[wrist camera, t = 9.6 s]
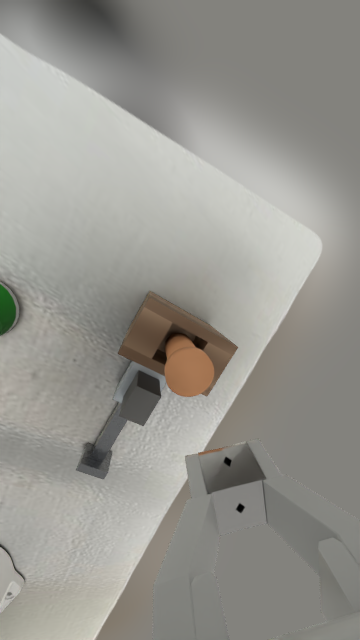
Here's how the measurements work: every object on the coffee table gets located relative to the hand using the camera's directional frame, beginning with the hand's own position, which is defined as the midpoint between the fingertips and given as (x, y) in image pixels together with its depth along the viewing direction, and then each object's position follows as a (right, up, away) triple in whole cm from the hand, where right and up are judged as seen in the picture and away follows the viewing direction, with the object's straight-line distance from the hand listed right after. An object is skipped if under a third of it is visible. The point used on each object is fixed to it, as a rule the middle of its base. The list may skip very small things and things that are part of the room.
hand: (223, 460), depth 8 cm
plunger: (-2, +3, +13) cm, 13 cm away
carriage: (-7, -2, +22) cm, 24 cm away
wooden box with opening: (-3, +5, +21) cm, 22 cm away
